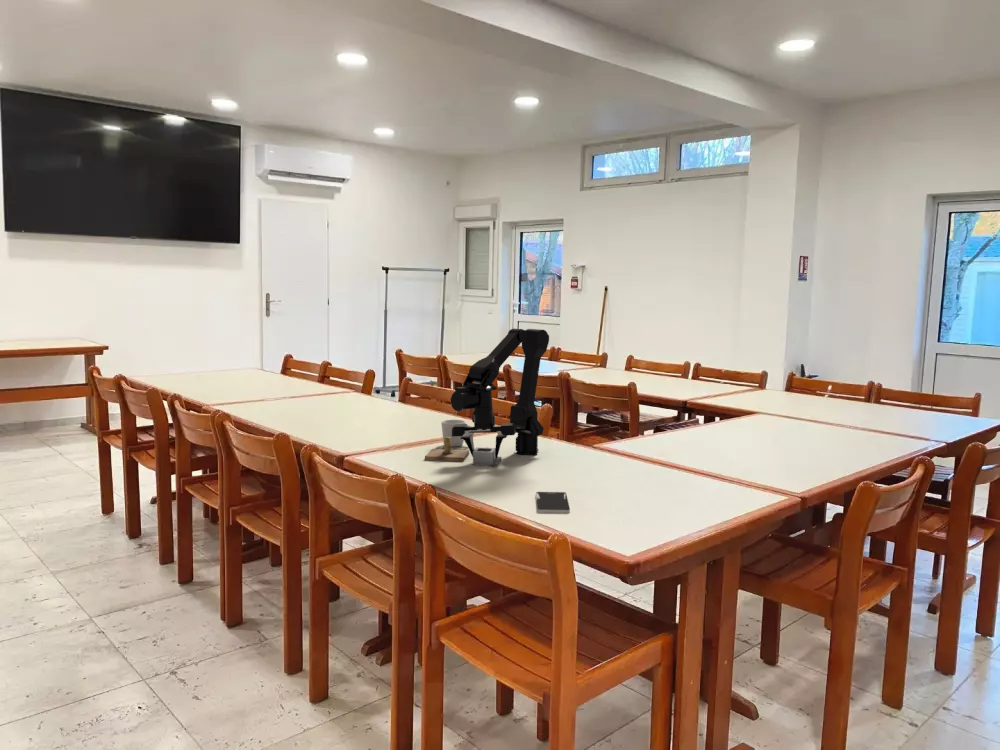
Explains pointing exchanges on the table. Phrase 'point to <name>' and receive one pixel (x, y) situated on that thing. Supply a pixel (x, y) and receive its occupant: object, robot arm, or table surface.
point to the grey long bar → (496, 461)
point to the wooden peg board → (447, 453)
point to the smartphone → (552, 502)
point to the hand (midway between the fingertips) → (485, 458)
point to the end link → (483, 456)
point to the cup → (447, 431)
